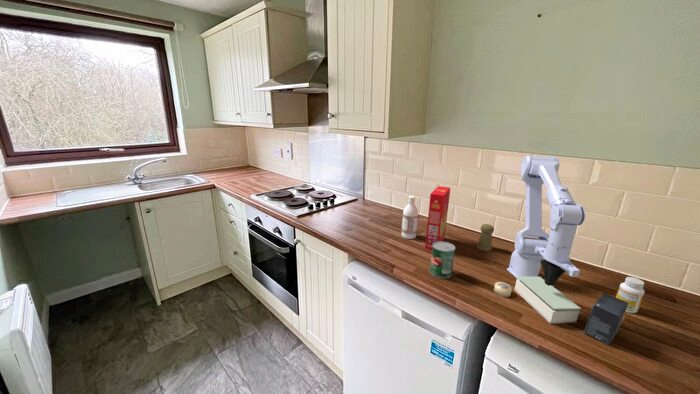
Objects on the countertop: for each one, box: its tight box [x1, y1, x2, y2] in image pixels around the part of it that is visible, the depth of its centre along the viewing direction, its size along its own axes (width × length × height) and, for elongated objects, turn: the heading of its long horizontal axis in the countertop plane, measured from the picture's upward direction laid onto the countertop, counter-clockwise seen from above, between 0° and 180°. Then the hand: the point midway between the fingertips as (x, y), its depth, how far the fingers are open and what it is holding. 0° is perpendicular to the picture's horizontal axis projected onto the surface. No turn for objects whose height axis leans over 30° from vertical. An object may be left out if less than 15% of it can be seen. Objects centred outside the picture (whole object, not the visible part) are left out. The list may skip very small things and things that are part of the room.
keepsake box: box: [513, 278, 580, 325], centre depth 88 cm, size 16×8×4 cm, turn 5°
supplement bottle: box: [615, 276, 645, 314], centre depth 86 cm, size 5×5×10 cm
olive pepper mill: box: [476, 223, 495, 252], centre depth 123 cm, size 6×6×11 cm
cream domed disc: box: [493, 281, 513, 298], centre depth 94 cm, size 5×5×2 cm
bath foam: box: [401, 195, 419, 240], centre depth 133 cm, size 7×7×20 cm
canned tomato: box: [429, 240, 456, 279], centre depth 104 cm, size 8×8×11 cm
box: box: [583, 292, 628, 346], centre depth 76 cm, size 9×6×10 cm, turn 126°
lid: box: [518, 276, 582, 311], centre depth 87 cm, size 16×8×1 cm, turn 5°
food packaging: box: [424, 185, 451, 251], centre depth 125 cm, size 15×5×25 cm, turn 151°
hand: (549, 284), depth 86 cm, fingers closed
